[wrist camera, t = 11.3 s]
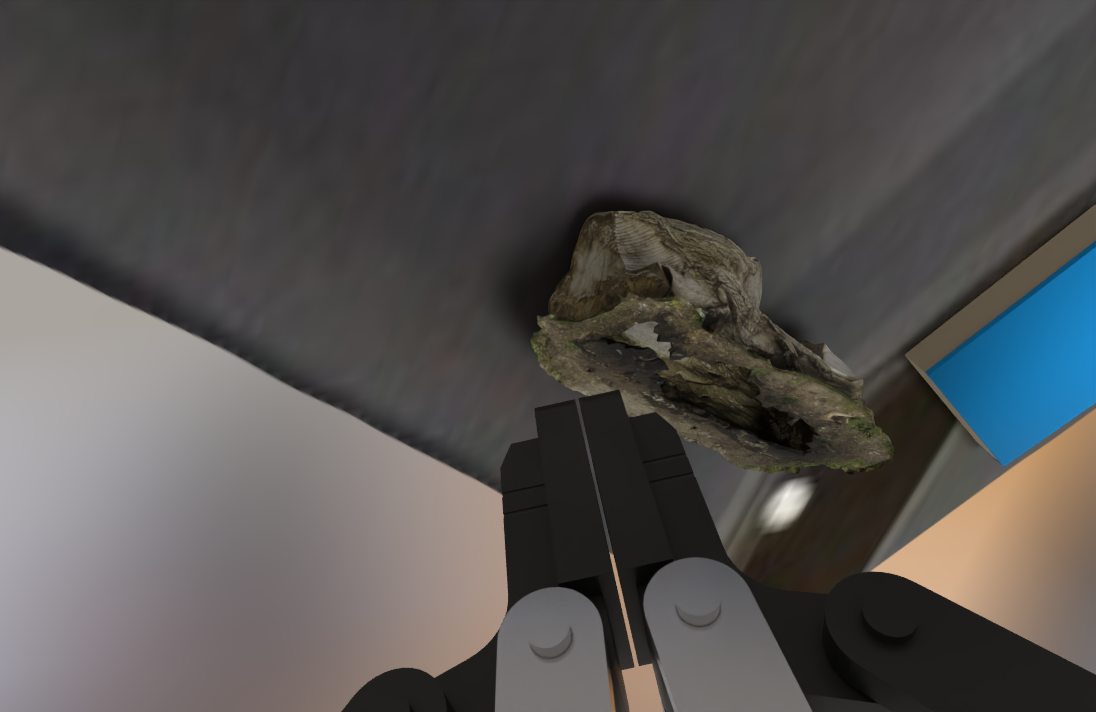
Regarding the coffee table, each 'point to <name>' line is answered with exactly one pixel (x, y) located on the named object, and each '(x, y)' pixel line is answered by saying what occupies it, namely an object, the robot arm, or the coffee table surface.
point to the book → (1022, 347)
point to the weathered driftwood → (701, 349)
